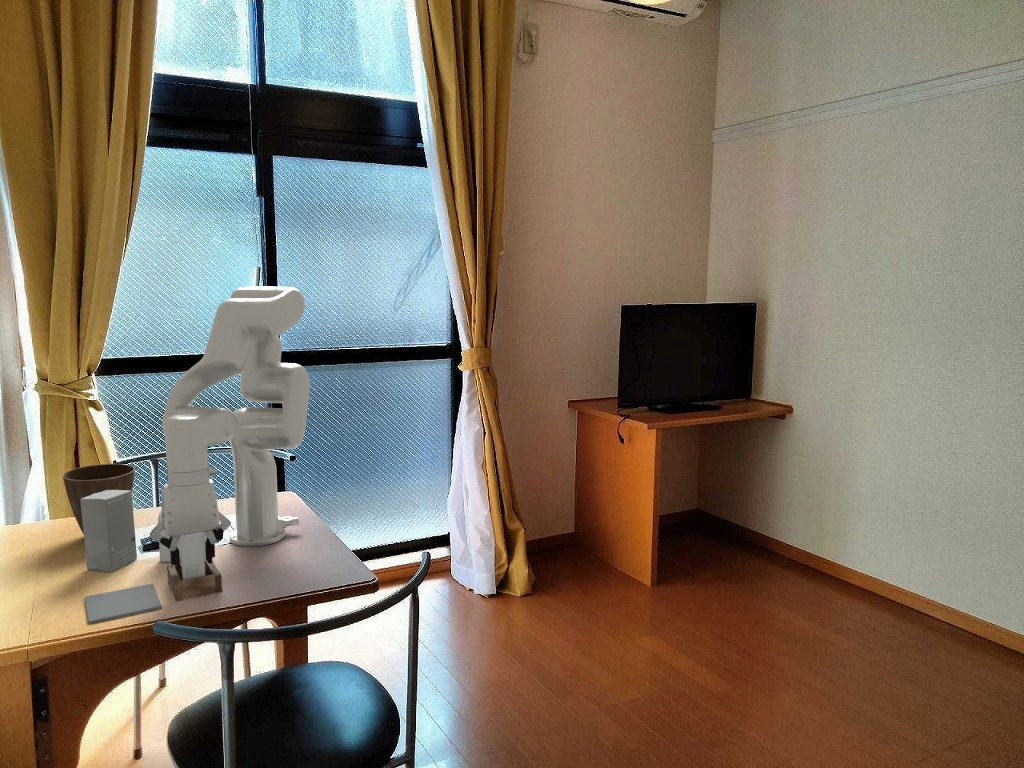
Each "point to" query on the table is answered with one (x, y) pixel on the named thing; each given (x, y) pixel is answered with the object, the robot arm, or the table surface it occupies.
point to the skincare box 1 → (108, 529)
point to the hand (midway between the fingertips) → (193, 563)
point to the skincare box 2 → (192, 555)
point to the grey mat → (122, 603)
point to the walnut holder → (194, 582)
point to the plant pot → (95, 483)
